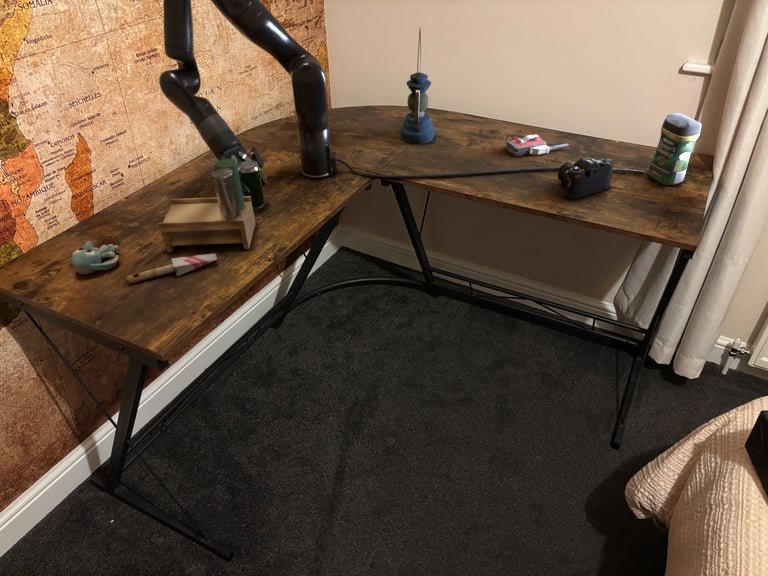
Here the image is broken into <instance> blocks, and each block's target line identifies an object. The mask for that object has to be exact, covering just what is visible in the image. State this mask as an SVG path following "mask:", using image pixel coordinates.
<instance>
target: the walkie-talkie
mask: <svg viewBox="0 0 768 576" xmlns="http://www.w3.org/2000/svg"><path fill="white" fill-rule="evenodd" d="M563 147H569V143H561V144H557V145H552V146H551V145H550V146H548V145H547V142H546V141H545V140H543V138H541V136H540V135H538V134H535V133H533V134H528V135H525V136H524V137H523V138H521V137H519V138H517V139H513V140H507V141H506V144H505V151H507V152H508V153H510V154H511V155H512V156H514V157H521V156H526V155H536V156H539V155H544V154H549V152H551V151H552V150H557V149H561V148H563Z"/></svg>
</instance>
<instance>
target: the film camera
mask: <svg viewBox="0 0 768 576" xmlns="http://www.w3.org/2000/svg"><path fill="white" fill-rule="evenodd" d="M614 165H615V162H614V161H612V159H610V158H605V159H604V158H599V159H594V158H591V157H589V156H587V157H583V158H580V159H579V160H577V161H572V160H566V161H565V162H563V163H562V164H561V166H559V167H560V169H559V170H557V179H558V180H559V181H560V182H561V183H562V184H563V185H564V188H563V194H562V195H563V198H565V199H567V200H573V199H578V198H579V199H580V198H582V197H585V196H589V195H592V194H595V193H598V192H602V191H605V190H607V189H609V188H610V184H611V179H612V176H613V172H614V171H613V168H614Z"/></svg>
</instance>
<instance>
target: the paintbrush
mask: <svg viewBox="0 0 768 576" xmlns="http://www.w3.org/2000/svg"><path fill="white" fill-rule="evenodd" d="M217 260H218V257H217V254H216V253H208V254H199V255H190V256H180V257H172V258H171V264H168V265H167V264H166V265H164V266H159V267H157V268H153V269H149V270H145V271H142V272H138V273H135V274H130V275H127V276H126V280H127V282H128V284H129V285H130V284H134V283H137V282H142V281H145V280H149V279H152V278H155V277H159V276H162V275H166V274H170V273H173V272H175V275H176V277H180V276H182V275H184V274H187V273H188V272H191V271H194V270H196V269H198V268H200V267H203V266H205V265H207V264H210V263H213V262H215V261H217Z"/></svg>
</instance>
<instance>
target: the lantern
mask: <svg viewBox="0 0 768 576" xmlns="http://www.w3.org/2000/svg"><path fill="white" fill-rule="evenodd" d="M418 30H419V31H418V43H419V44H418V46H417V47H418V48H417V59H419V61H417V62H416V63H417V64H416V65H417V68H416V72H415V73H412V74H411V75H410V76H409V79H408V80H407V81H406V86H407V87H408V89H409V90H410V93H409V94H408V96H407V108H408V109H409V110H410V111H411V112H409V113H406V115H405V117H404V118H405V119H404V120H403V124H402V125H401V126H400V128H399V132H400V136H401V139H402V140H403V141H404V142H405V143H408V144H412V145H422V144H423V145H424V144H428V143H430V142H431V141H433V140H434V137H435V134H436V127H435V125H433V120H432V119H431V115H430V114H429V113H427V112H425V111H426V110H427V108H428V107H429V95H428V94H427V93H426V92H427V91H428V90H429V89H430V86H431V85H432V81H431V80H429V76H428V74H426V73H424V72H422V36H421V34H422V33H421V28H419V29H418Z"/></svg>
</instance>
